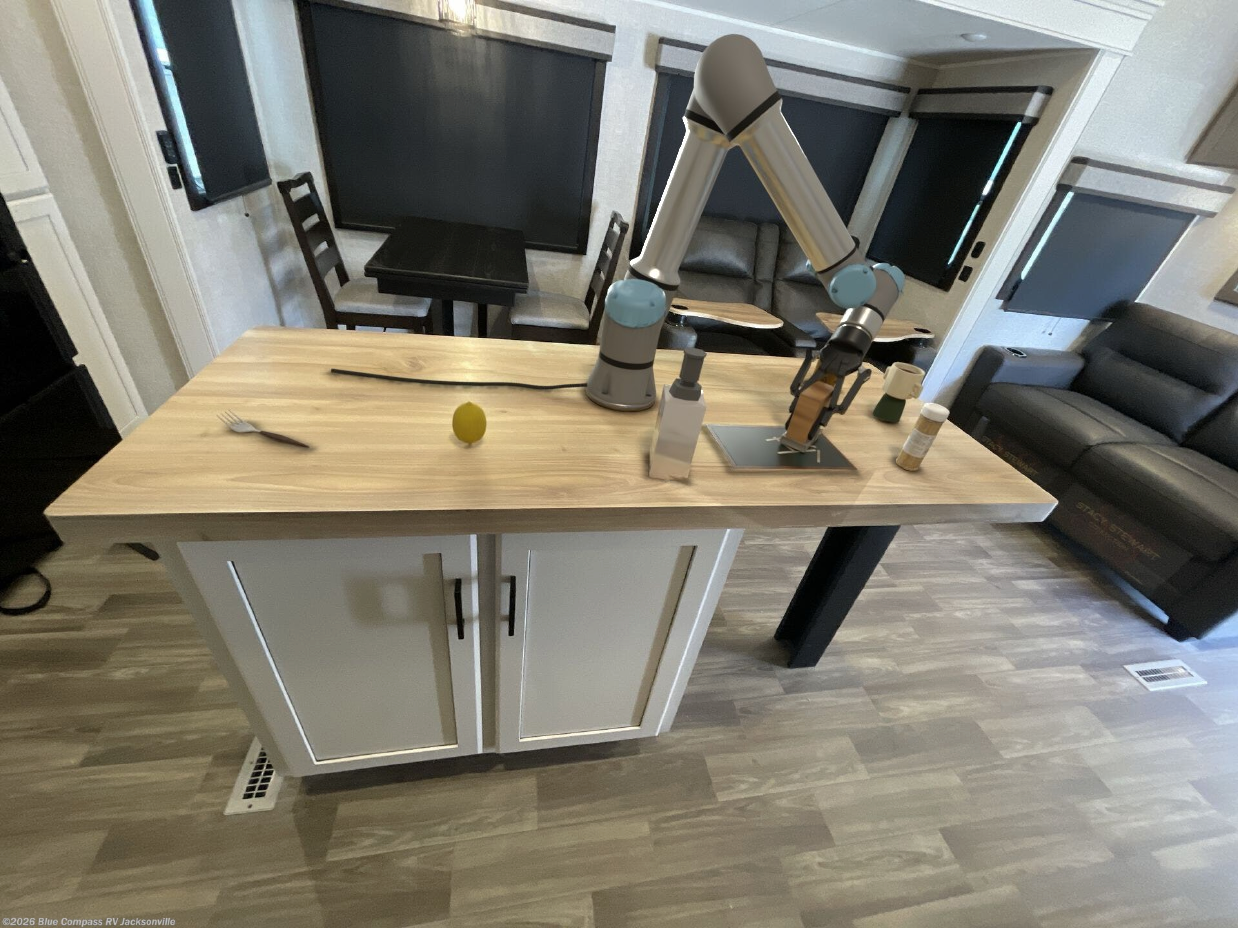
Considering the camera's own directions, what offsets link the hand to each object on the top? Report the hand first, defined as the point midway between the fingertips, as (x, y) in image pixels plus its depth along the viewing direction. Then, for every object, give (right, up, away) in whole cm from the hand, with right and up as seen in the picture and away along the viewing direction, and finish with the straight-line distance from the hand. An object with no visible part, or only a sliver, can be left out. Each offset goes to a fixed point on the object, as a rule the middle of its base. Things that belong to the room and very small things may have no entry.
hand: (798, 432), depth 104 cm
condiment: (+16, +14, +33) cm, 40 cm away
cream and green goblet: (+28, +4, +23) cm, 37 cm away
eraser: (+2, -1, +4) cm, 5 cm away
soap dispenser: (-27, -7, -9) cm, 29 cm away
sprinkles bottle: (+23, -7, +5) cm, 25 cm away
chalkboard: (-4, -3, +2) cm, 5 cm away
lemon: (-61, -3, -13) cm, 62 cm away
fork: (-91, -2, -19) cm, 93 cm away
